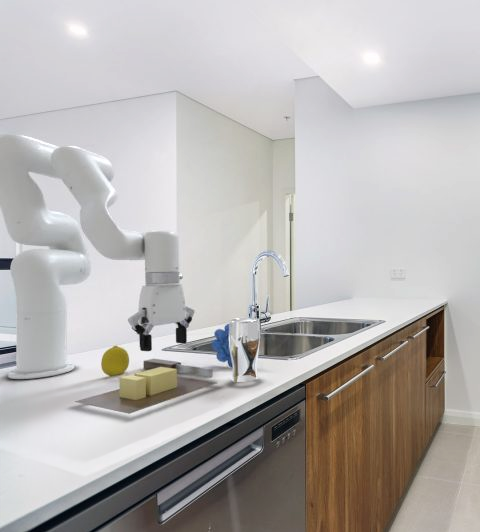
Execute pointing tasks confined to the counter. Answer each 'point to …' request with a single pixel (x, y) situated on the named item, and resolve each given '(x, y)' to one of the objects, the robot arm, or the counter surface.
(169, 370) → the butter block
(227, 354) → the grapes
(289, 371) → the counter surface
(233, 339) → the beer glass
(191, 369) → the knife
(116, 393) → the board
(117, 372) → the lemon
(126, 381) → the butter slice
